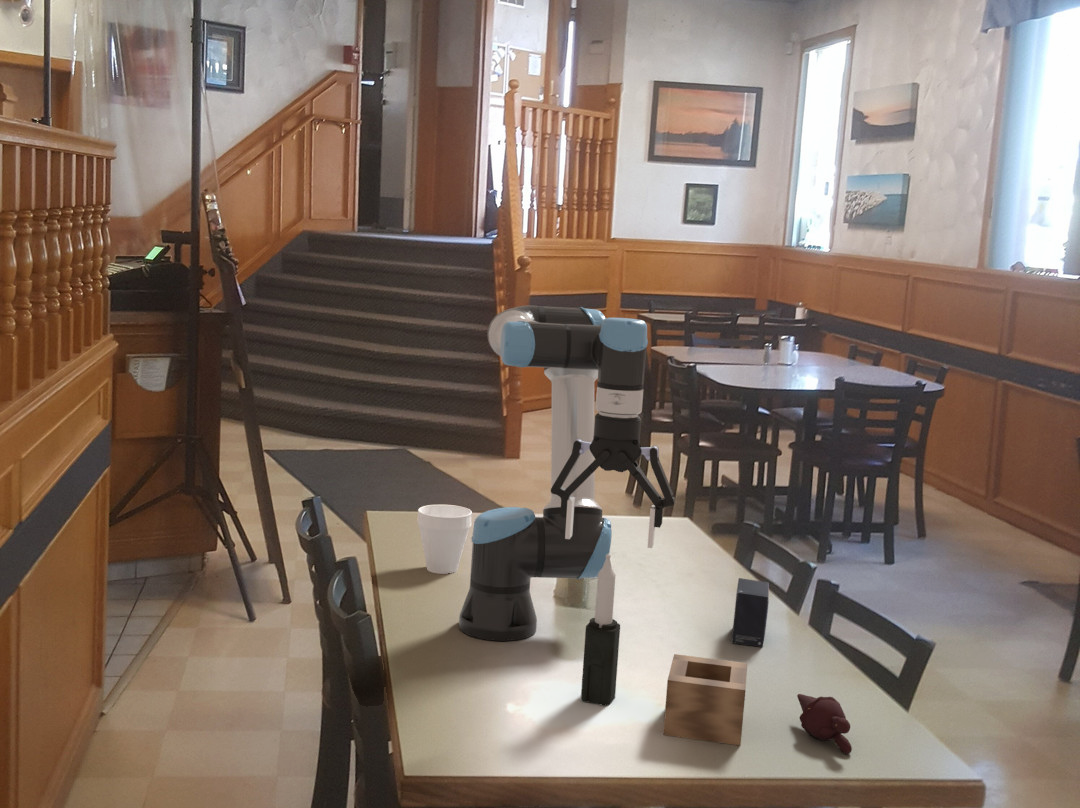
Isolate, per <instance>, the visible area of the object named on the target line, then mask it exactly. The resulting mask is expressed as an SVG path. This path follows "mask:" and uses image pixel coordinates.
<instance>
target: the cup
mask: <svg viewBox="0 0 1080 808" xmlns="http://www.w3.org/2000/svg"><path fill="white" fill-rule="evenodd" d="M417 513H418V514H417V519H416V524H417V525H418V527H419V528H418V529H419V532H420V538H421V543H422V549H423V554H424V561H425V564H426V565H425V566H426V570H427V571H428V572H430V573H432V574H433V573H434V574H437V575H438V574H439V575H440V574H441V575H447V574H448V573H450V574H454V573H456V572H457V571H458V569H459V566H460V561H461V558H462V555H463V551H464V548H465V544H466V541H467V537H468V534H469V530H470V527H472V525H473V524H472V514H473V512H472V510H471V509H470V508H467V507H464V506H460V505H453V504H428V505H423V506H421V507H419V508H418V509H417ZM453 572H454V573H453Z"/></svg>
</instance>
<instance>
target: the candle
mask: <svg viewBox="0 0 1080 808" xmlns="http://www.w3.org/2000/svg"><path fill="white" fill-rule="evenodd" d="M605 557H606V560H605V562H604V565H603V567H602V569H601V570H600V571H599V573H598V577H597V583H596V597H595V612H594V617H592V618H590V619H589V623H587V624H586V626H585V630H584V631H585V635H584V647H583V659H582V660H583V661H582V662H583V664H582V675H581V677H582V679H581V690H580V691H581V692H580V693H581V694H580V700H581V701H582V702H584V703H590V704H596V705H600V706H609V705H611V704H612V702H613V701H615V699H616V689H617V688H616V687H617V676H618V675H617V674H618V663H619V662H618V661H619V651H620V650H619V649H620V647H619V646H620V633H621V624H620V623H618V621H617V620H615V619H613V618H614V617H613V616H614V604H615V590H616V588H615V587H616V576H617V575H616V573H615V570H614V569H613V566H612V562H611V554H610V553H609V554H607V555H606V556H605Z"/></svg>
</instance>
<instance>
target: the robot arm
mask: <svg viewBox="0 0 1080 808" xmlns="http://www.w3.org/2000/svg"><path fill="white" fill-rule="evenodd" d="M487 340H488V344H489V346H490V348H491V350H493V352H494V353H495V354H496V355H498V356H499V357H500V359H501V362H502V363H503V364H504V365H505V366H510V367H517V368H543V370H544V371H543V373H544V375H545V377H546V378H547V379H548V380H550V382H551V423H550V424H551V429H550V430H551V432H550V433H551V437H550V438H551V439H550V440H551V441H550V442H551V444H550V445H551V446H550V447H551V448H550V450H551V451H550V452H551V455H550V457H551V459H550V461H551V462H550V465H551V466H550V467H551V469H550V501H549V502H548V503H547V504H545V506H544V507H543V508H542V517H541V516H540V517H539V516H537V517H536V513H535V512H534V511H533V509H530V508H529V507H519V506H507V507H499V508H494V509H489V510H486V511H484V512H482V513H480V514H479V515H478V516H477V517H476V518H475V519H474V522H473V528H472V536H471V538H470V539H471V543H472V546H471V547H472V549H471V560H470V561H471V562H470V563H471V565H470V576H469V577H470V579H469V580H470V581H469V590H468V592H467V595H466V597H465V599H464V602H463V605H462V607H461V610H460V613H459V617H458V628H459V630H460V631H461V632H463V633H464V634H466V635H467V636H471V637H474V638H477V639H481V640H488V641H496V642H497V641H498V642H500V641H501V642H502V641H503V642H504V641H507V642H508V641H517V640H522V639H523V640H524V639H527V638H529V637H531V636H533V635H534V634H535V633H536V632H537V625H538V624H537V623H538V620H537V614H536V611H535V607H534V602H533V599H532V596H531V591H530V590H531V586H530V585H531V578H543V579H545V578H546V579H576V580H580V579H595V578H598V573H599V571H600V570H601V569H602V567H603V565H604V562H605V560H606V557H605V556H606V555H607V554H610V551H611V546H612V535H613V534H612V533H613V532H612V531H613V530H612V522H611V520H610V519H608V518H606V517H603V508H602V507H601V506H600V505H599V504H598V502H596V499H595V494H596V493H595V491H596V489H595V486H596V485H595V481H596V480H595V476H596V475H595V471H597V469H598V468H599V467H600V468H601V469H602V470H604V471H606V472H611V471H614V472H618V473H624V472H626V471H628V472H629V474H630V475H631V476H632V477H633V478H634V479H635V481H636V482H637V483H638V484H639V486H640V488H641V489H642V490H643V492H644V494H646V496H647V497H648V498H649V500H650V502H651V503H652V504H653V505H651V507H650V509H649V511H650V512H649V522H648V533H647V534H648V537H647V549H653V547H654V544H655V534H656V533H655V531H656V528H658V529H661V526H662V524H663V515H664V508H666V507H672V506H673V505H674V504H675V501H676V497H675V495H674V493H673V490H672V487H671V485H670V482H669V480H668V477H667V475H666V473H665V471H664V468H663V466H662V463H661V460H660V454H659V453H660V452H659V451H660V450H659V446H657V445H652V446H651V447H647V446H646V447H645V446H644V447H642V445H641V441H640V439H641V429H642V427H641V426H642V418H641V416H640V414H641V413H642V412H643V400H644V382H645V371H646V370H645V369H646V357H647V347H648V345H649V340H648V325H647V322H645V320H642V319H637V318H630V317H629V318H628V317H605V315H604V314H603V312H602V311H601V310H598V309H595V308H585V307H582V306H579V307H573V306H571V307H569V306H568V307H567V306H546V305H545V306H543V305H520V306H516V307H511V308H508V309H505V310H503V311H500V312H499V313H498V314H496V315H495V316H494V317H493V318H492V320H491V321H490V323H489V325H488V328H487ZM596 380H597V383H596V397H595V382H596ZM595 410H596V411H597V412H598V413H596V414H595ZM641 455H643V456H644V457H645V459H646V460H647V461H648V462H650V466H651V469H652V472H653V474H654V476H655V478H656V481H657V483H658V486H659V488H660V490H661V493H662V495H663V496H661V494H660V493H659V492H658V491H657V489H656V488H655V487H654V485H653V484H652V483H651V481H650V480H649V478H648V477H647V475H646V474H645V473H644V471H643V470H642V468H641V466H640V465H639V464H638V462H637V460H638V459H639V458H640V457H641Z"/></svg>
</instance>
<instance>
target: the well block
mask: <svg viewBox="0 0 1080 808" xmlns="http://www.w3.org/2000/svg"><path fill="white" fill-rule="evenodd" d="M747 672H748V663H747V662H739V661H731V660H723V659H716V658H709V657H700V656H693V655H684V654H677V653H676V654H673V656H672V662H671V664H670V670H669V673H668V677H667V684H666V693H665V694H666V695H665V696H666V697H665V707H664V708H665V709H664V720H663V722H664V723H663V731H662V733H663V735H664V736H671V737H678V738H683V739H684V738H685V739H691V740H698V741H706V742H712V743H719V744H727V745H734V746H741V744H742V743H741V742H742V736H743V735H742V733H743V724H744V723H743V721H744V713H745V712H744V710H745V700H746V690H747V689H746V688H747V676H748V673H747Z"/></svg>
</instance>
